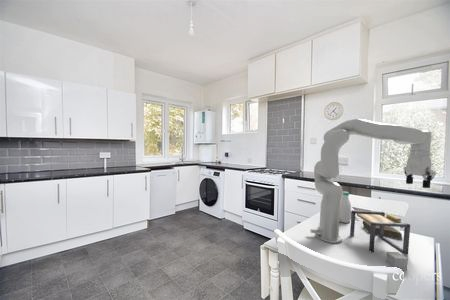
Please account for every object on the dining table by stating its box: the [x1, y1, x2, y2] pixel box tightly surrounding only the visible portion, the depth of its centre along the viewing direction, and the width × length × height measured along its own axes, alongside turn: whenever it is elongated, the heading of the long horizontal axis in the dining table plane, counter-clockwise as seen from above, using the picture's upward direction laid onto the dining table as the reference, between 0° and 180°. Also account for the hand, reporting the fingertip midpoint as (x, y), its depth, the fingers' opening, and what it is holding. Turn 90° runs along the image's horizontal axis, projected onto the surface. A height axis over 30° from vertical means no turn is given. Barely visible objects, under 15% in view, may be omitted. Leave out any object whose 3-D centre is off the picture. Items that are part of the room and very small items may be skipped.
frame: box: [349, 209, 411, 255], centre depth 104 cm, size 17×17×14 cm
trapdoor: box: [356, 213, 402, 224], centre depth 104 cm, size 16×13×3 cm
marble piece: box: [362, 220, 403, 240], centre depth 120 cm, size 17×15×4 cm
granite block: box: [385, 251, 409, 271], centre depth 85 cm, size 5×5×5 cm
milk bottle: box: [339, 190, 352, 224], centre depth 134 cm, size 8×8×20 cm
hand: (417, 185), depth 106 cm, fingers open, 9 cm apart
